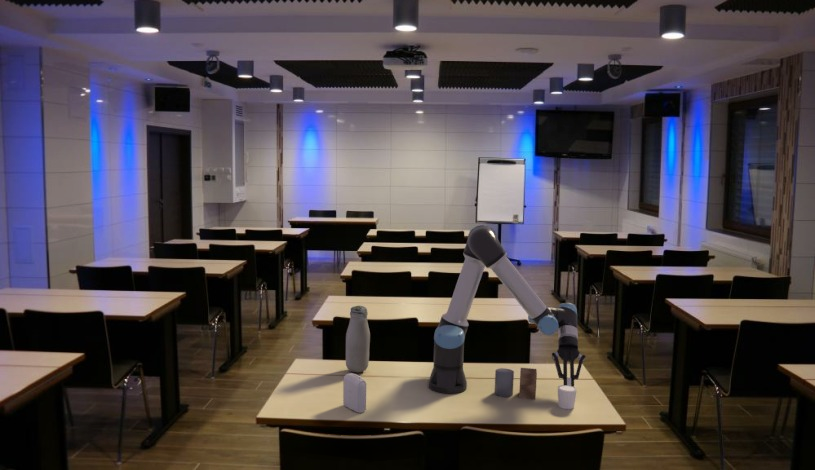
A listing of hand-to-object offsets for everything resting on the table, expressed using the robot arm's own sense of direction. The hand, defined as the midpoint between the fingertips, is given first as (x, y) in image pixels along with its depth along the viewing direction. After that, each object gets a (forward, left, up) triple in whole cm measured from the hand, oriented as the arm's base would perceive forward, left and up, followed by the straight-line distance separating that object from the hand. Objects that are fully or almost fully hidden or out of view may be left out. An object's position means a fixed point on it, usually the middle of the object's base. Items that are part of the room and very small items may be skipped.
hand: (569, 395), depth 239 cm
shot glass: (-1, -4, -3) cm, 5 cm away
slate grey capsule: (-24, +4, -3) cm, 25 cm away
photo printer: (-76, -24, -3) cm, 80 cm away
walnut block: (-15, +4, -3) cm, 16 cm away
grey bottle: (-85, +15, -3) cm, 86 cm away
